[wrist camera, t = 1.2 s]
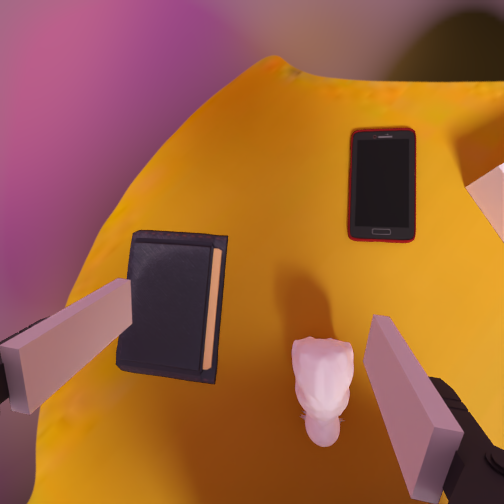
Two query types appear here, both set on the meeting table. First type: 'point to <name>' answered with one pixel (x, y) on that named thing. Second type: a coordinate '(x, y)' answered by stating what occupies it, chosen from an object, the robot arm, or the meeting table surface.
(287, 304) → the meeting table surface
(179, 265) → the wallet
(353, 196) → the cell phone
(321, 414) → the pale pink lumpy piece
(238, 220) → the meeting table surface
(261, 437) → the meeting table surface
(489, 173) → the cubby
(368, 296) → the meeting table surface
